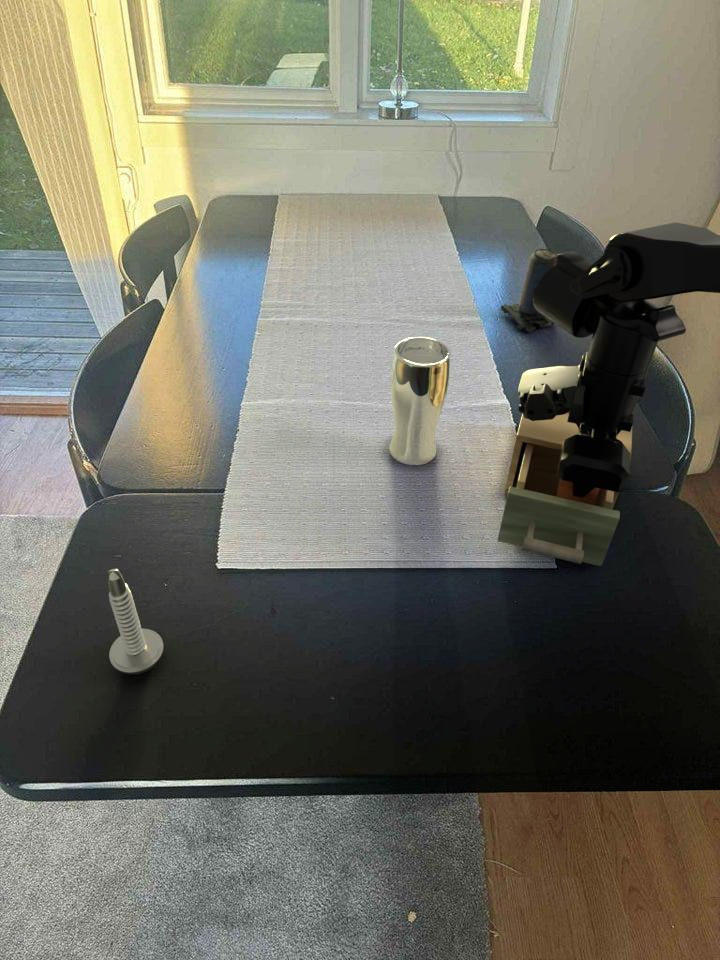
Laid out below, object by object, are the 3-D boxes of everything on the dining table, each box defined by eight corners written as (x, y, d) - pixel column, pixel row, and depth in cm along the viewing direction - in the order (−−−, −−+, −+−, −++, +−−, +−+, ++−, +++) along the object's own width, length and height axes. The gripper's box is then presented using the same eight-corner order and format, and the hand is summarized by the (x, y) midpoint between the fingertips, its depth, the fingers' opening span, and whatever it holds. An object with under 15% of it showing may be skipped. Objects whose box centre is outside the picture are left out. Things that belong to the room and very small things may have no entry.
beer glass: (440, 469, 89) (454, 367, 79) (386, 467, 89) (393, 365, 79) (437, 435, 94) (450, 336, 84) (385, 434, 94) (392, 334, 84)
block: (596, 482, 78) (605, 455, 76) (593, 505, 75) (603, 477, 73) (560, 474, 79) (567, 447, 77) (556, 497, 76) (564, 469, 74)
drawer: (598, 595, 73) (617, 547, 68) (490, 567, 75) (501, 519, 70) (608, 488, 86) (624, 441, 81) (515, 468, 88) (525, 421, 83)
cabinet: (609, 518, 83) (631, 459, 77) (503, 494, 86) (516, 435, 80) (615, 446, 93) (634, 389, 88) (520, 427, 96) (533, 370, 90)
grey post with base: (560, 325, 118) (577, 257, 111) (524, 335, 116) (539, 266, 108) (527, 303, 124) (540, 237, 116) (492, 311, 121) (503, 244, 114)
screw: (141, 694, 64) (102, 670, 65) (177, 656, 67) (139, 634, 69) (112, 602, 55) (69, 577, 57) (155, 564, 58) (113, 541, 60)
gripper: (544, 303, 75) (518, 421, 85) (518, 395, 61) (491, 522, 72) (652, 321, 72) (612, 440, 83) (650, 421, 59) (603, 548, 69)
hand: (579, 483), depth 77 cm, fingers closed on block, 4 cm apart
